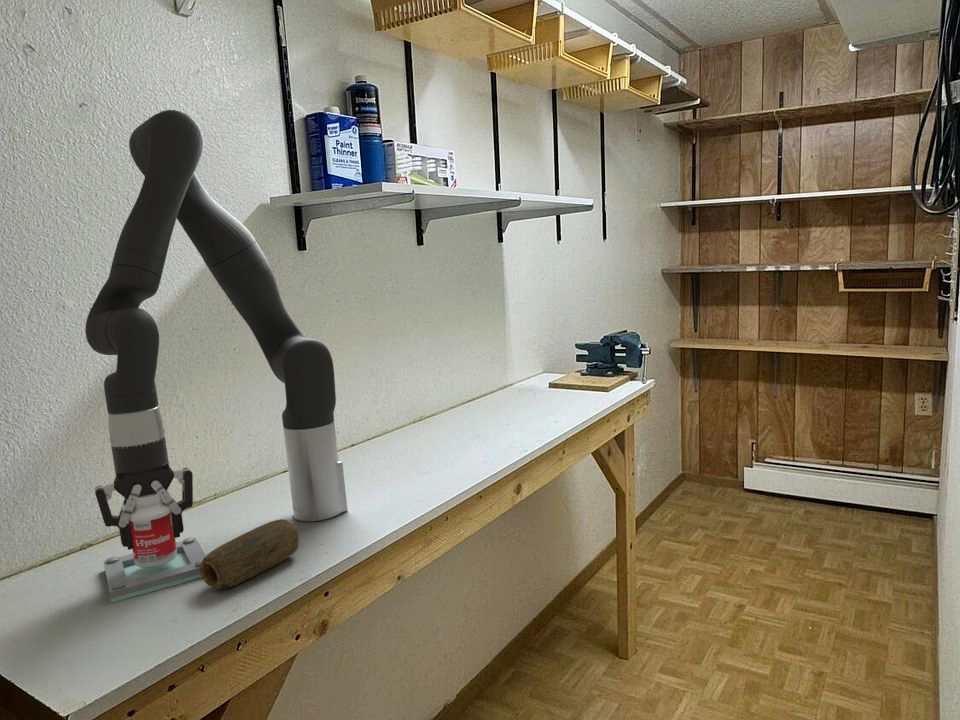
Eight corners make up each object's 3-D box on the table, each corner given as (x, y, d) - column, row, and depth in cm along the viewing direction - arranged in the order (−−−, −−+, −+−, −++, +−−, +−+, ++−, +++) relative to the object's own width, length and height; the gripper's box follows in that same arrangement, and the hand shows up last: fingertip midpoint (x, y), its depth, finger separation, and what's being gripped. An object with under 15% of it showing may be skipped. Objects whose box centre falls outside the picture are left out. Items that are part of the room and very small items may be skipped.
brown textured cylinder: (273, 551, 116) (268, 512, 115) (304, 557, 113) (300, 517, 112) (197, 591, 104) (191, 548, 103) (229, 599, 100) (223, 555, 99)
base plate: (196, 546, 121) (195, 535, 120) (212, 574, 109) (211, 562, 108) (104, 570, 113) (103, 558, 113) (111, 602, 102) (109, 589, 101)
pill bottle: (134, 572, 107) (123, 502, 105) (135, 558, 112) (125, 491, 111) (178, 562, 109) (168, 494, 108) (177, 549, 115) (168, 484, 113)
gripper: (183, 425, 115) (197, 523, 117) (83, 443, 108) (100, 547, 110) (191, 433, 108) (206, 536, 111) (85, 452, 101) (103, 563, 104)
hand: (153, 541), depth 110 cm, fingers closed on pill bottle, 6 cm apart
